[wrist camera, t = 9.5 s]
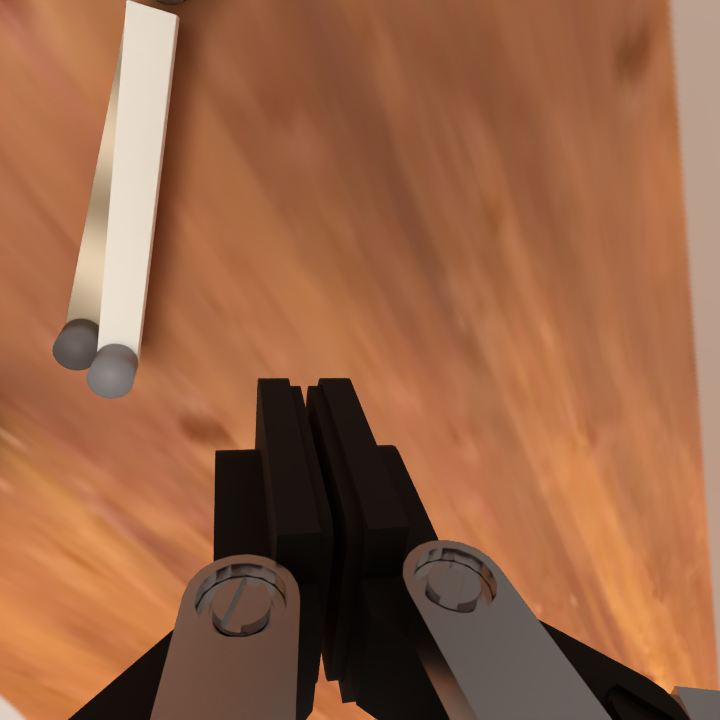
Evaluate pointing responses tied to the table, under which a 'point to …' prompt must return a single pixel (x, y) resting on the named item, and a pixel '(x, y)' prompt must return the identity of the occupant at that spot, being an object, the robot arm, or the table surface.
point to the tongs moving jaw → (134, 194)
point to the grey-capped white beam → (92, 251)
